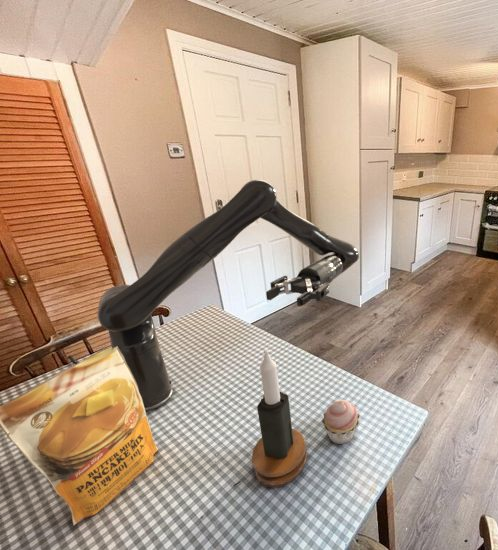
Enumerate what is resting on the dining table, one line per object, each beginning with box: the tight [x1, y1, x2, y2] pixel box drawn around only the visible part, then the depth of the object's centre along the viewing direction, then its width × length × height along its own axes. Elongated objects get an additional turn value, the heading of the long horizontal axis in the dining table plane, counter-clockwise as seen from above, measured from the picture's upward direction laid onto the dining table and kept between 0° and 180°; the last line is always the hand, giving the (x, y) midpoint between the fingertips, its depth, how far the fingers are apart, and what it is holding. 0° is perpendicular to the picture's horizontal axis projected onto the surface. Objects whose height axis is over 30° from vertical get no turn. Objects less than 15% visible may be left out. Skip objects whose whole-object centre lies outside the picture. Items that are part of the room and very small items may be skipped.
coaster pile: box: [251, 427, 308, 489], centre depth 66 cm, size 12×11×4 cm
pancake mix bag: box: [0, 345, 159, 526], centre depth 57 cm, size 7×19×28 cm, turn 160°
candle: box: [256, 349, 293, 459], centre depth 61 cm, size 5×5×25 cm
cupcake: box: [321, 399, 361, 445], centre depth 72 cm, size 9×9×10 cm
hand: (282, 299), depth 70 cm, fingers open, 8 cm apart
